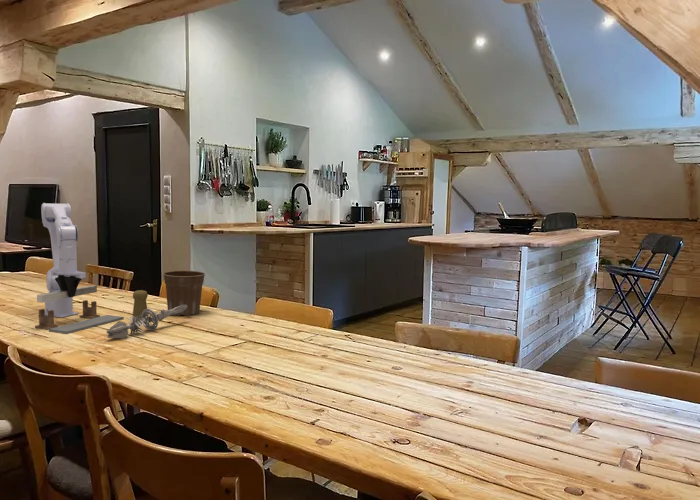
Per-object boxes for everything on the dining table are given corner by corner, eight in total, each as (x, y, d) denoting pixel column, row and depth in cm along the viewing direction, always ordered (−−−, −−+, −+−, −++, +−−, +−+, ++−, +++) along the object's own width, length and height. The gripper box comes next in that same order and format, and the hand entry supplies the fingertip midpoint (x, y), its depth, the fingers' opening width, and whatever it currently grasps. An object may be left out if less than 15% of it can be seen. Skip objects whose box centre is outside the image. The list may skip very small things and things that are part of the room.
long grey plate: (48, 331, 189) (48, 329, 189) (107, 316, 214) (107, 314, 214) (66, 333, 187) (66, 331, 186) (123, 319, 211) (123, 316, 211)
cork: (151, 318, 213) (151, 289, 212) (144, 321, 207) (144, 292, 206) (136, 317, 214) (136, 289, 213) (128, 320, 208) (128, 291, 207)
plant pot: (213, 311, 228) (213, 272, 226) (186, 319, 213) (186, 277, 212) (182, 307, 235) (182, 269, 233) (153, 314, 220) (153, 273, 219)
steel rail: (37, 301, 192) (36, 294, 191) (92, 291, 214) (91, 285, 214) (42, 302, 191) (42, 295, 191) (96, 292, 213) (96, 285, 213)
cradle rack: (35, 327, 194) (34, 310, 193) (87, 315, 215) (87, 299, 214) (48, 329, 191) (47, 311, 191) (100, 317, 213) (99, 300, 212)
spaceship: (196, 302, 206) (181, 292, 209) (117, 330, 176) (100, 318, 179) (192, 320, 209) (177, 310, 212) (113, 351, 179) (97, 338, 182)
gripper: (43, 258, 200) (44, 296, 201) (74, 261, 195) (74, 300, 196) (59, 257, 206) (60, 293, 208) (90, 259, 201) (90, 297, 203)
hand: (68, 296), depth 202 cm, fingers closed on steel rail, 2 cm apart
